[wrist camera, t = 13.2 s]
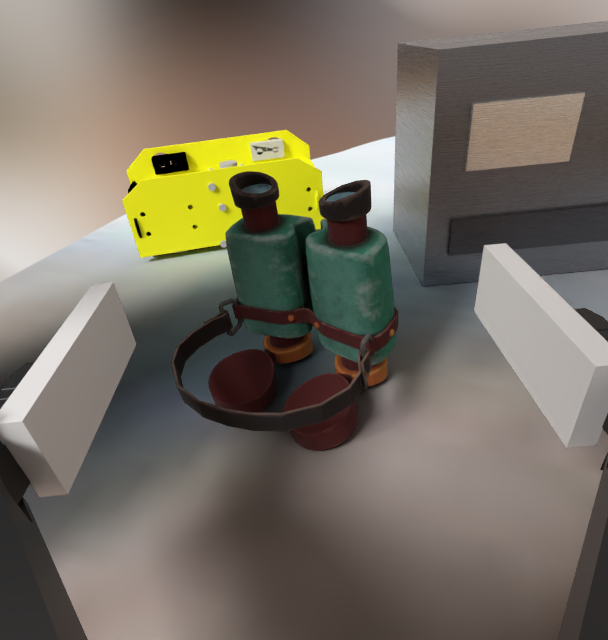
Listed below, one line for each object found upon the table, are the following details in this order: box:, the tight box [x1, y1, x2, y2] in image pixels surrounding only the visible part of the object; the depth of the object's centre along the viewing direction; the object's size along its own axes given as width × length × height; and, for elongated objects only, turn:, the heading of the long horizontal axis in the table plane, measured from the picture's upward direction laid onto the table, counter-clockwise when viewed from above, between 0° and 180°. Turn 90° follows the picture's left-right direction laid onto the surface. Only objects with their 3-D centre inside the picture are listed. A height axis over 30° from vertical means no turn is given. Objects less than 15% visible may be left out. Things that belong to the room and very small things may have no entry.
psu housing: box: [393, 21, 608, 286], centre depth 31 cm, size 19×10×14 cm, turn 92°
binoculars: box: [171, 171, 398, 450], centre depth 20 cm, size 9×11×10 cm
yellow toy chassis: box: [122, 130, 325, 258], centre depth 38 cm, size 16×6×8 cm, turn 101°
